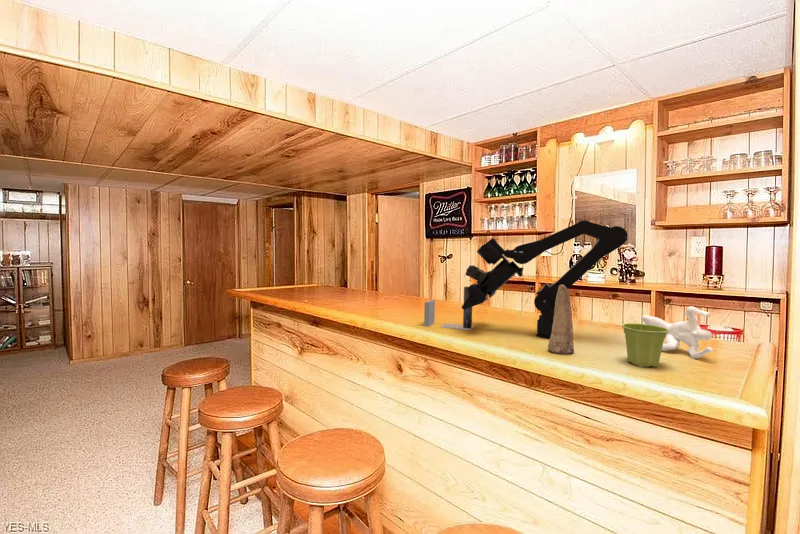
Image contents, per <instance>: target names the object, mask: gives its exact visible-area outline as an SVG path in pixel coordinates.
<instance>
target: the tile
mask: <svg viewBox="0 0 800 534" xmlns="http://www.w3.org/2000/svg"><path fill="white" fill-rule="evenodd" d="M435 306H436V300H433V299H429V300H427V301H424V309H423V311H424V315H423V316H424V318H423V319H424V320H423V321H424V322H423V326H424V327H428V328H429V327H430V326H433V325H434V324H435V310H436V307H435Z"/></svg>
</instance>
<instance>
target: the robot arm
mask: <svg viewBox="0 0 800 534" xmlns="http://www.w3.org/2000/svg"><path fill="white" fill-rule="evenodd" d="M583 235H585V236H589V237H592V238H595V239H597V240H596V241H595V243H594V245H593V246H592V247H591V249H590V250H588V252H586V253H585V255H583V256H582V257H581V258H580V259H579V260H578V261H577V262H575V263H574V265H572V266H571V267H570V268H569V269H568V270H567V271H566V272H565V273H564V274H563V275H562V276H561V277H559V279H557V281H555V282H554V283H552V284H550V283H548V282H545V284H544V285H543V286H542V288H541V289H539V290H536V296H535V298H534V300H533V302H534V303H533V304H534V307H535V309H537V310H538V311H540V314H539V315H538V319H537V322H536V335H535V336H536V337H541V338H546V339H550V337H551V333H552V325H553V317H554V309H555V301H556V296H557V292H558V287H559V285H564V286H565V287H566V288H567V289H568V290H569V289H570V288H571V286H573V285H574V284H575V283H576V282H578V280H579V279H580V278H581V277H583V276H584V275H585V274H586V273H587V272H588V271H589V270H590V269H591V268H593V266H595V265H596V264H597V263H598V262H599V261H600V260H601V259H602V258H604V257H605V256H607V255H609V254H611V253H613V251H616V250H617V249H618V248H621V247H622V246H623V245H624V244H626V242H627V241H628V232H627V230H626V229H625V228H623V226H618V225H617V226H616V225H615V226H611V227H610V226H605V225H603V224H598V223H595V222H591V221H589V220H587V219H581V220H579V221H578V222H576V223H575V224H572V225H570V226H567V227H566V228H563V229H562V230H559V231H556V232H555V233H552V234H550V235H548V236H545V237H543V238H541V239H538V240H535V241H531V242H526V243H523V244H520V245H518V246H515V248H513V249H509V248H508V249H507V248H506V249H504V247H502V246H501V245H500V243H498V241H497V240H496V238H493V237H492V238H490V239H489V240H488V241H486V243H483V244H482V245H481V246H480V247H479V248H478V249H477V251H476V253H477V254H478V255H479V256H480V257H481V258H482V260H483V261H485V263H486V264H488V265H491V264H492V265H493V266H494V267H493V268H491V270H489V271H487V272H486V271H485V270H482V269H481V268H479V266H478V267H477V266H476V265H472V264H470V265H469V266H468V268H466V271H465V276H467V277H470V278H472V279H474V280H476V283H472V284H470V285H469V286H467V287H468V288H467V289H468V291H469V292H470V295H469V297H468V298H467V300H466V301H465V303H464V302H463V304H462V306H461V309H462V310H464V309H467V308H470V307H472V308H473V307H475V306H478V305H482V304H484V302H486V301H488V300H489V298H492V297H493V296H495V294H496V292H497V291H498V290H499V289H500V288H501V287H502V286H504V285H505V284H506V283H507V282H509V280H510V279H511V278H512V277H514V276H515V275H516V274H517V275H518V276H519V278H521V277H523V276H524V274H523V272H524V267H523V266H522V267H520V266H518V265H517V264H519V265H526V264H527V263H529V262H531V261H532V260H533V259H534V260H535V258H537V257H538V256H540V255H541V254H543V253H544V252H546V251H548V250H550V249H553V248H555V247H558V246H559V245H561V244H564V243H566V242H568V241H571V240H573V239H575V238H578V237H580V236H583ZM507 258H508V259H507ZM509 259H512V261H510V260H509ZM499 261H500V262H499ZM498 262H499V263H498ZM496 264H497V265H496ZM495 265H496V266H495Z"/></svg>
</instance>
